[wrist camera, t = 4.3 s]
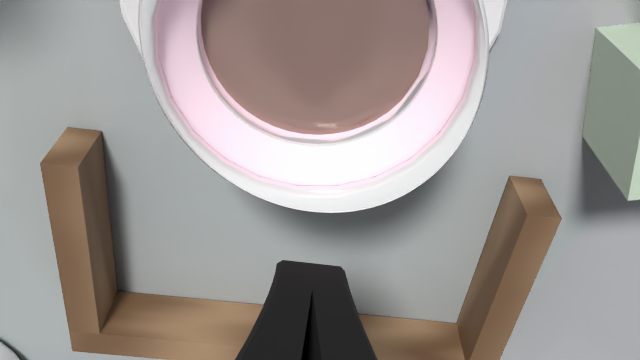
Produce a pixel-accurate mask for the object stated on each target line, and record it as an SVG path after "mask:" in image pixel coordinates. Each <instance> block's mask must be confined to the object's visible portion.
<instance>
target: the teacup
mask: <svg viewBox="0 0 640 360" xmlns="http://www.w3.org/2000/svg"><path fill="white" fill-rule="evenodd" d="M506 4H507V0H120V6H121V12H122V16H123V18H124V20H125V22H126V24H127V26H128V29H129V31H130V33H131V35H132V37H133V39H134V41H135V43H136V45H137V47H138V50H139V52H140V54H141V56H142V58H143V61H144V65H145V69H146V73H147V76H148V79H149V82H150V85H151V87H152V90H153V92H154V95H155V97H156V99H157V101H158V103H159V105H160V107H161V109H162V111H163V112H164V114H165V116H166V118H167V119H168V121H169V122H170V124H171V125H172V127H173V128H174V130H175V131H176V132H177V134H178V135H179V136H180V138H181V139H182V140H183V141H184V143H185V144H186V145H187V146H188V147H189V148H190V149H191V150H192V151H193V152H194V154H195V155H197V156H198V157H199V158H200V159H201V160H202V161H203V162H204V163H205V164H206V165H207V166H209V167H210V168H211V169H212V170H214V171H215V172H216V173H218V174H219V175H220V176H222V177H223V178H224V179H226V180H227V181H229V182H230V183H232V184H234V185H235V186H237V187H239V188H241V189H243V190H244V191H246V192H248V193H250V194H252V195H254V196H257V197H259V198H261V199H264V200H266V201H269V202H271V203H274V204H277V205H280V206H284V207H288V208H292V209H297V210H302V211H309V212H320V213H342V212H352V211H359V210H364V209H369V208H373V207H376V206H380V205H383V204H385V203H388V202H391V201H393V200H395V199H397V198H400V197H402V196H404V195H405V194H407V193H409V192H411V191H412V190H414V189H416V188H417V187H419V186H420V185H421V184H423V183H424V182H425V181H427V180H428V179H429V178H430V177H432V176H433V175H434V174H435V173H436V172H437V171H438V170H439V169H440V168H441V167H442V166H443V165H444V164H445V163H446V162H447V161H448V160H449V159H450V157H451V156H452V155H453V154H454V152H455V151H456V150H457V148H458V147H459V145H460V144H461V142H462V141H463V139H464V137H465V136H466V134H467V132H468V131H469V129H470V127H471V125H472V123H473V121H474V119H475V117H476V114H477V112H478V109H479V106H480V103H481V100H482V97H483V93H484V89H485V85H486V79H487V73H488V64H489V51H490V49H491V47H492V45H493V43H494V42H495V40H496V38H497V36H498V34H499V33H500V31H501V27H502V22H503V18H504V13H505V8H506Z"/></svg>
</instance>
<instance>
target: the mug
mask: <svg viewBox="0 0 640 360" xmlns="http://www.w3.org/2000/svg"><path fill="white" fill-rule="evenodd" d="M0 360H20V359H19V358H18V356H17V355H16V354H15V353H14V352H13V351H12V350H11V349H10V348H8V347H7V346H6V345H5V344H3V343H2V342H1V341H0Z"/></svg>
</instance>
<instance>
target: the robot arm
mask: <svg viewBox="0 0 640 360" xmlns="http://www.w3.org/2000/svg"><path fill="white" fill-rule="evenodd" d="M235 360H378V359H377V357H376V355H375V353H374V350H373V348H372V346H371V344H370V341H369V339H368V337H367V335H366V332H365V330H364V328H363V325H362V323H361V320H360V318H359V315H358V312H357V309H356V307H355V304H354V301H353V298H352V295H351V292H350V289H349V286H348V282H347V278H346V274H345V271H344V270H343V269H342V268H341V267H340V266H331V265H322V264H313V263H304V262H295V261H286V260H282V261H281V262H279V263H277V266H276V272H275V276H274V279H273V283H272V286H271V288H270V291H269V294H268V296H267V298H266V301H265V303H264V306H263V308H262V310H261V312H260V314H259V316H258V318H257V320H256V322H255V324H254V326H253V328H252V330H251V332H250V334H249V336H248V338H247V340H246V341H245V343H244V345H243V347H242V348H241V350H240V352H239V353H238V355H237V357H236V358H235Z"/></svg>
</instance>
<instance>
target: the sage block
mask: <svg viewBox="0 0 640 360" xmlns="http://www.w3.org/2000/svg"><path fill="white" fill-rule="evenodd" d="M582 136H583V138H584V139H585V141H586V142H587V143H588V145H589V146H590V148H591V149H592V151H593V152H594V153H595V155H596V156H597V158H598V159H599V161H600V162H601V163H602V165H603V166H604V168H605V169H606V171H607V172H608V173H609V175H610V176H611V178H612V179H613V181H614V182H615V183H616V185H617V186H618V188H619V189H620V191H621V192H622V193H623V195H624V196H625V198H626V199H627V201H630V200H640V22H638V23H630V24H622V25H614V26H606V27H598V28H596V31H595V39H594V47H593V55H592V63H591V70H590V78H589V86H588V94H587V102H586V110H585V118H584V126H583V134H582Z"/></svg>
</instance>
